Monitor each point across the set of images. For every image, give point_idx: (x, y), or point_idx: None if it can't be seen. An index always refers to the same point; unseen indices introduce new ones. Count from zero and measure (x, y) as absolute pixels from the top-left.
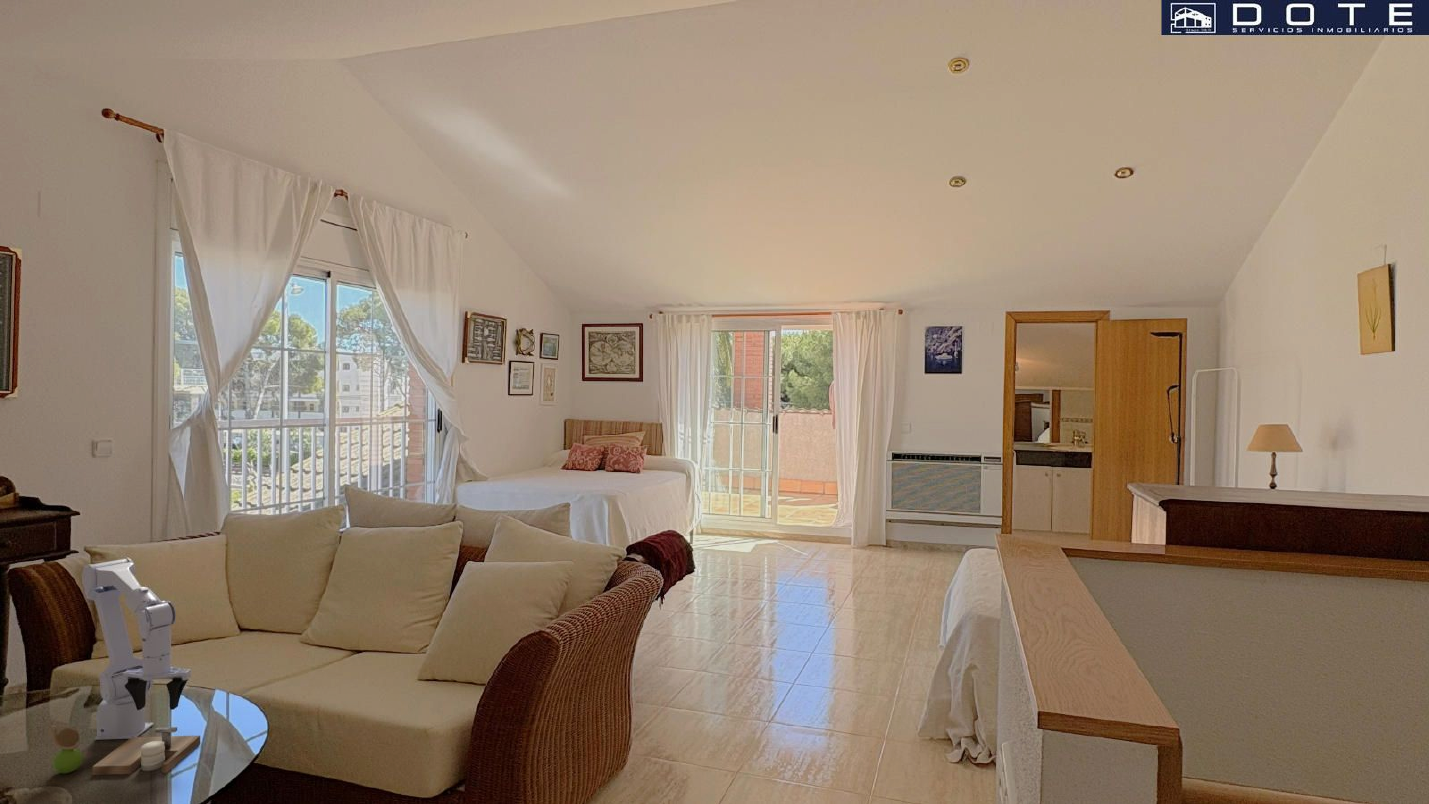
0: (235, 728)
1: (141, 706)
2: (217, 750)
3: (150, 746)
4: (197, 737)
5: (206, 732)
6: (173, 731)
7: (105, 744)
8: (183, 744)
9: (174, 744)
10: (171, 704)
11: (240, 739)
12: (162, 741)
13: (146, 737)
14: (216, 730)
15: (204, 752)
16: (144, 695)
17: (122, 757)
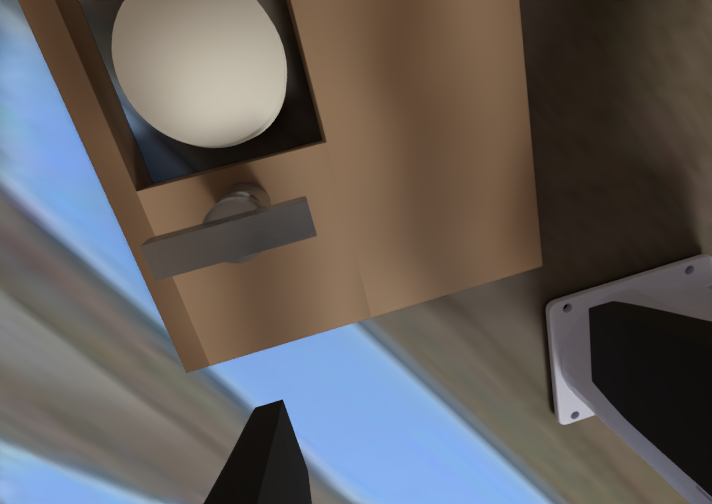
0: (164, 500)
1: (608, 346)
2: (22, 312)
3: (198, 35)
4: (179, 351)
5: None
6: (158, 237)
7: (637, 233)
8: None
9: None
10: (247, 445)
11: (20, 433)
12: (183, 138)
13: (464, 282)
14: None
15: (76, 277)
16: (705, 473)
17: (414, 39)
